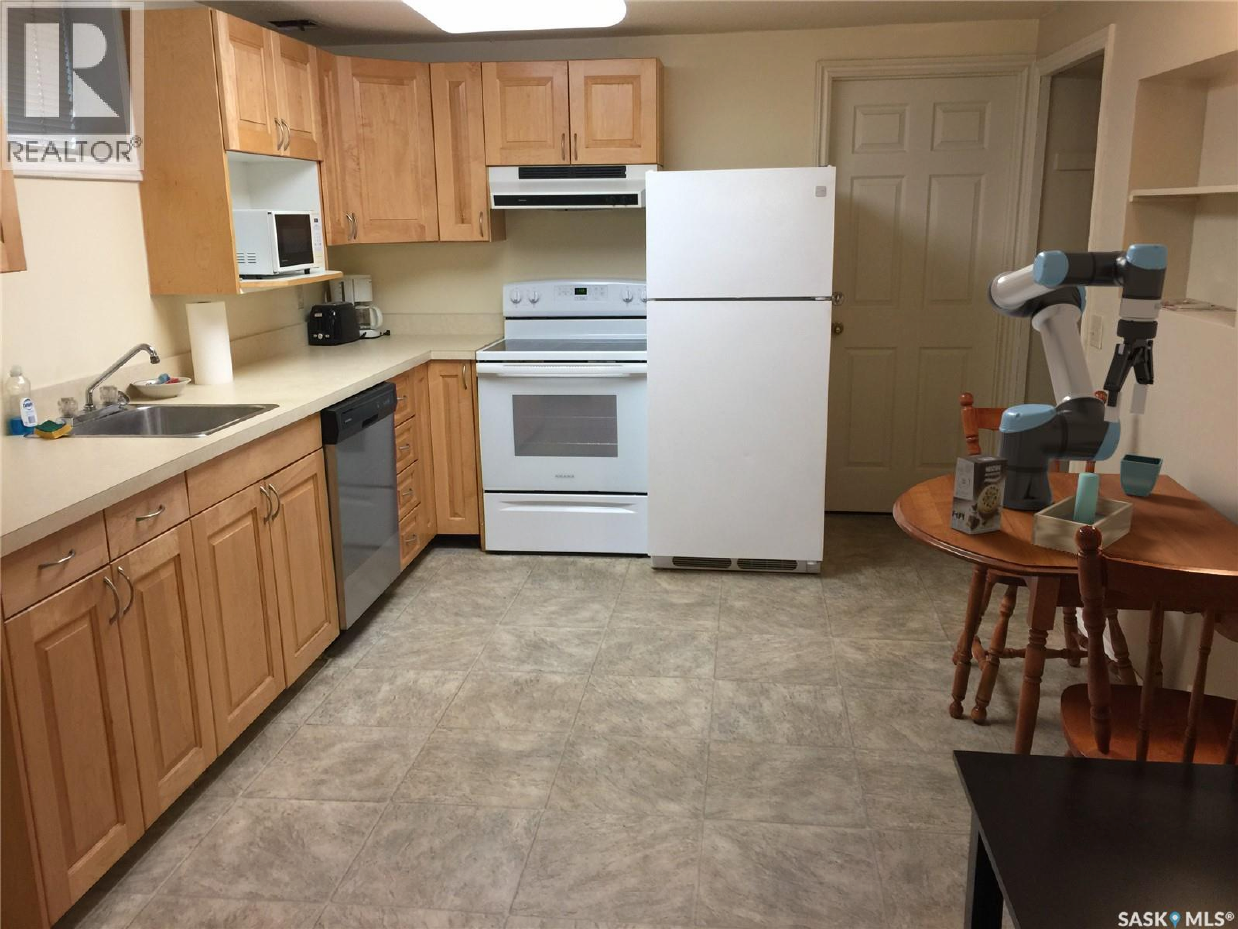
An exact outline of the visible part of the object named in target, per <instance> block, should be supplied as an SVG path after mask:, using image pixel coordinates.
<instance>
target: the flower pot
mask: <svg viewBox="0 0 1238 929" xmlns="http://www.w3.org/2000/svg"><path fill="white" fill-rule="evenodd" d="M1119 462H1120V464H1119V465H1120V466H1119V481H1120V486H1121V489H1122V491H1123V493H1124V494H1125V495H1132V496H1137V497H1143V498H1147V497H1149V495H1151V493H1152V492H1153V490H1154V488H1155V486H1156V483H1157V481H1158V479H1159V476H1160V472H1161V469H1162V465H1163V462H1164V458H1162V457H1152V456H1147V455H1138V454H1130V453H1124V454H1123V455H1122V457H1121V459H1120V460H1119Z"/></svg>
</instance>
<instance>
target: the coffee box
mask: <svg viewBox="0 0 1238 929" xmlns="http://www.w3.org/2000/svg"><path fill="white" fill-rule="evenodd" d="M1007 463H1008V459H1005V458H1002V457H998V456H997V455H992V454H988V453H982V454H975V455H968V456H967V455H965V456H958V457H957V461H956V468H955V475H954V476H955V479H954V488H953V496H952V505H951V515H950V523H949V527H950V528H951V529H955V530H957V531H960V532H962V533H964V534H967V535H977V534H983V533H987V532H993V531H994V532H995V531H998V530H1001V523H1002V516H1003V515H1002V514H1003V508H1004V507H1003V497H1004V489H1005V480H1006V471H1007Z"/></svg>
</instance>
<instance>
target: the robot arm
mask: <svg viewBox="0 0 1238 929" xmlns="http://www.w3.org/2000/svg"><path fill="white" fill-rule="evenodd" d="M1168 254H1169V249H1168V247H1167V245H1165V244H1154V243H1153V244H1152V243H1151V244H1149V243H1133V244H1131V245H1129V247H1128V250H1127V251H1126V250H1113V251H1069V250H1068V251H1067V250H1065V251H1064V250H1063V251H1062V250H1050V251H1045V250H1044V251H1042V252H1040V253H1038V254H1037V255H1036V257H1035V259H1034V262H1033V263H1032V264H1029V265H1028V266H1027V265H1026V267H1023V268H1020V269H1019V270H1015V271H1014V270H1007V271H1004V272H1001V273H999V274H997V275H996V276H994V277H993V278H992V279H990V281H989V283H988V285H987V288H986V294H985V295H986V300H987V302H988V305H989V306H990V307H991V308H992V309H993V310H994V311H995V312H996V313H997V314H1000V315H1002V316H1006V317H1008V318H1015V319H1017V318H1019V319H1022V318H1023V319H1024V318H1025V319H1030V321H1031V326H1032V327H1033V329H1034V330H1035V331H1038V332H1040V337H1041V341H1042V345H1043V350H1044V354H1045V358H1046V362H1047V367H1048V371H1049V376H1050V379H1051V386H1052V388H1053V394H1054V398H1055V402H1056V405H1055V406H1053V405H1051V404H1044V403H1043V404H1042V403H1041V404H1040V403H1039V404H1037V403H1029V404H1019V405H1014V406H1011V407H1008V408H1007V409H1006V410H1004V411H1003V412H1002V416H1001V421H1000V425H999V428H998V430H999V435H998V436H999V437H998V443H997V444H998V446H997V455H996V456H998V457H1002V458H1005V459H1008V463H1007V471H1006V480H1005V489H1004V497H1003V507H1002V508H1007V509H1012V510H1021V511H1042V510H1044V509H1046V508H1048V507H1050V506H1052V505H1053V502H1054V501H1053V500H1054V495H1053V490H1052V489H1053V488H1052V486H1051V481H1050V476H1049V467H1050V461H1063V462H1064V461H1065V462H1066V461H1067V462H1075V461H1076V462H1090V463H1091V462H1092V463H1093V462H1100V461H1101V462H1103V461H1106V460H1109V459H1110V458H1111V457H1113V455H1114V454H1115V452H1116V450H1118V449H1117V448H1118V445H1119V442H1120V438H1121V433H1122V429H1121V428H1122V426H1121V425H1122V424H1121V419H1120V414H1121V406H1122V399H1123V398H1122V397H1123V391H1122V389H1123V386H1124V384H1125V382H1126V380H1127V378H1128V375H1129V373H1130V371H1131V369H1132V368H1133V372H1134V377H1135V381H1136V383H1135V382H1134V384H1133V387H1132V388H1133V389H1132V397H1131V402H1130V410H1129V413H1131V414H1137V415H1145V411H1146V403H1147V397H1148V391H1149V390H1148V389H1149V385H1152V386H1153V385H1154V383H1155V375H1154V374H1155V372H1154V355H1153V349H1154V348H1153V347H1154V339H1155V338H1156V337H1157V332H1158V324H1159V322H1158V321H1157V320H1156V319H1158V318H1159V316H1160V310H1162V309H1163V304H1161V303H1162V298H1163V297H1162V296H1163V292H1164V286H1165V279H1166V273H1167V268H1168V264H1169V262H1168ZM1086 287H1098V288H1099V287H1100V288H1101V287H1104V288H1105V287H1107V288H1122V290H1121V291H1122V292H1121V297H1120V304H1119V310H1118V311H1119V312H1118V317H1120V319H1118V321H1117V326H1116V327H1117V328H1116V336H1117V337H1119V338H1123V341H1122V343H1116V344H1115V347H1114V348H1115V349H1114V353H1113V357H1112V359H1111V363H1110V365H1109V369H1108V371H1107V374H1106V378H1105V381H1104V384H1103V387H1102V390H1103V391H1106V392H1107V396H1106V402H1105V403H1104V400H1102V399H1101V398H1099V397H1097V396H1095V392H1094V386H1093V383H1092V380H1091V379H1092V378H1091V376H1090V375H1091V374H1090V370H1089V367H1088V363H1087V358H1086V355H1085V350H1084V347H1083V344H1082V339H1081V334H1080V331H1079V327H1078V324H1077V323H1078V322H1079V320H1080V319H1081V316H1082V315H1083V313H1084V312H1085V309H1086V305H1087V299H1086V297H1087V291H1086V290H1087V289H1086Z"/></svg>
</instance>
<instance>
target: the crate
mask: <svg viewBox="0 0 1238 929" xmlns="http://www.w3.org/2000/svg"><path fill="white" fill-rule="evenodd" d="M1076 496H1077V492H1076V493H1073V494H1071V495H1069V496H1068V497H1066V498H1063V499H1062V500H1060V501H1058V502H1056V503H1053V504H1052V506H1050V507H1048V508H1046V509H1042V510H1039V512H1036V513H1034V514H1033V521H1032V530H1031V536H1030V537H1031V538H1030V545H1032V544H1033V545H1032V546H1036V545H1038V547H1041V546H1042V547H1041V548H1045V547H1046V548H1045V549H1049V548H1054V549H1059V550H1063V551H1070V552H1071V553H1074V554H1073V555H1075V554H1076V556H1078V555H1077V547H1076V544H1075V541H1074V535H1075V533H1076V531H1077V530H1078V528H1079V527H1082V526H1086V525H1087V524H1082V523H1077V522H1073V519H1074V511H1075V504H1076ZM1133 508H1134V503H1132V502H1127V501H1121V500H1115V499H1111V498H1105V497H1101V496H1097V503H1096V511H1095V518H1094V524H1093V525H1088V526H1092V527H1096V528H1098V529H1099V530H1100V531H1101V533H1102V539H1103V541H1102V547H1101V548H1104V549H1106V548H1107V547H1109V546H1111V545H1112V544H1113V543H1115V542H1117V541H1118V540H1119V539H1121V538H1123V537H1124V536H1126V535H1127V534H1128V533H1130V529H1131V522H1132V516H1133V510H1134V509H1133ZM1105 547H1106V548H1105ZM1054 549H1053V550H1054ZM1071 553H1070V554H1071Z"/></svg>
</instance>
